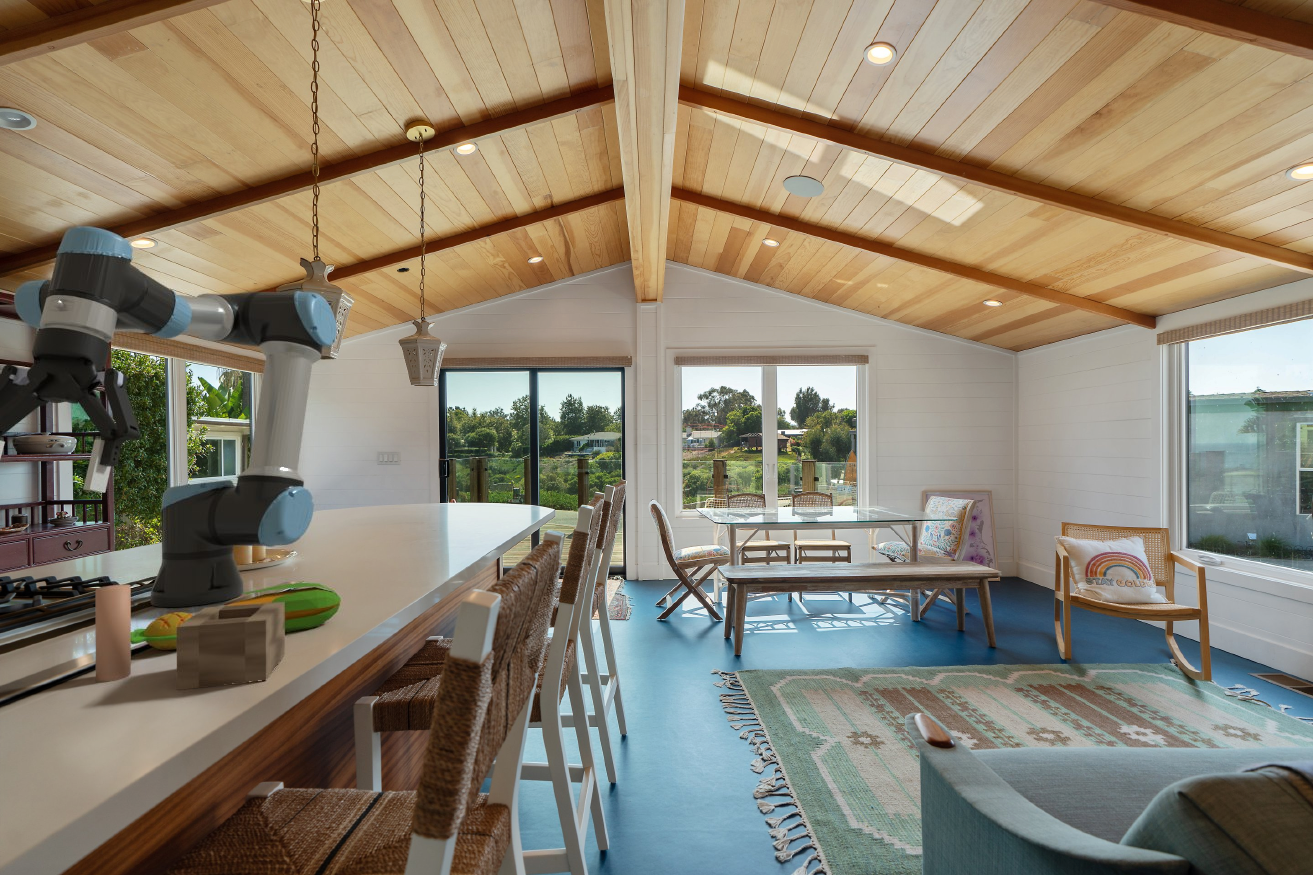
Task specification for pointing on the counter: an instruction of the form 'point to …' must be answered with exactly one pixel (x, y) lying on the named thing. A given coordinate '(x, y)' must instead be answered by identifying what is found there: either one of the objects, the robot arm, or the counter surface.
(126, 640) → the peg
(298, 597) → the corn
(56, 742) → the counter surface
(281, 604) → the socket block
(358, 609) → the counter surface
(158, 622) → the toy pineapple
